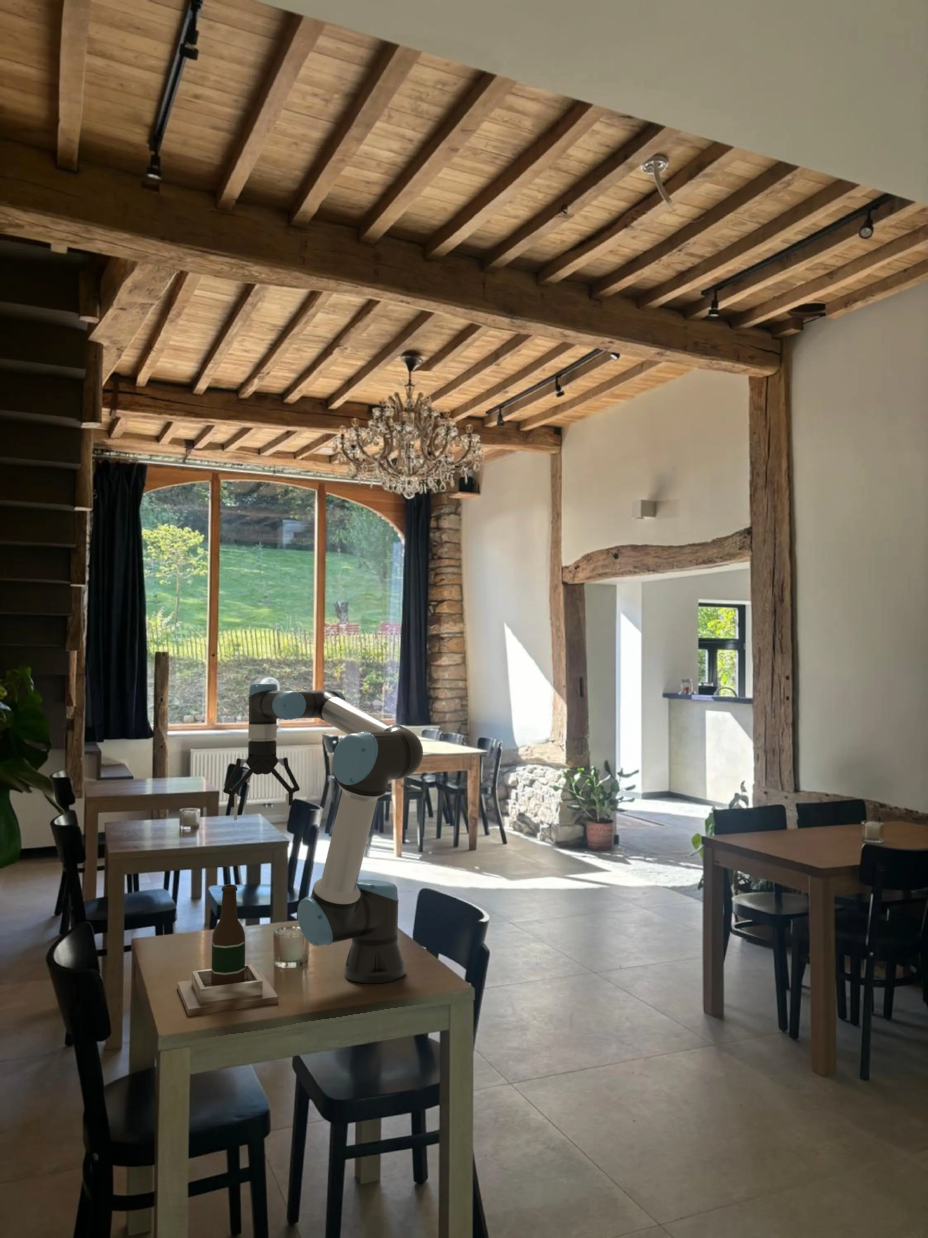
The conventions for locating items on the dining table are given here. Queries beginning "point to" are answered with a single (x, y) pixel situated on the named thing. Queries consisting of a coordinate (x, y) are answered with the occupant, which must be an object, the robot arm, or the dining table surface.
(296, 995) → the dining table surface
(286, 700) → the robot arm
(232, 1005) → the rim board
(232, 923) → the beer bottle
